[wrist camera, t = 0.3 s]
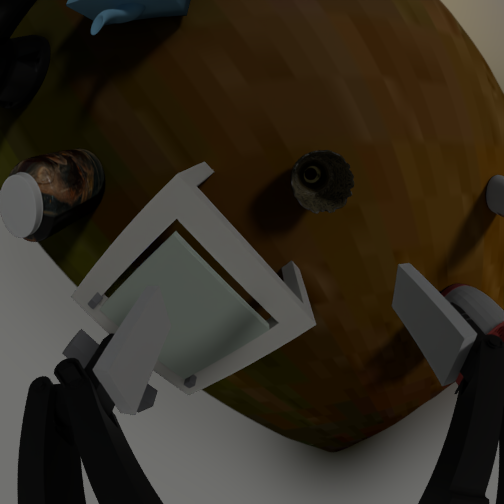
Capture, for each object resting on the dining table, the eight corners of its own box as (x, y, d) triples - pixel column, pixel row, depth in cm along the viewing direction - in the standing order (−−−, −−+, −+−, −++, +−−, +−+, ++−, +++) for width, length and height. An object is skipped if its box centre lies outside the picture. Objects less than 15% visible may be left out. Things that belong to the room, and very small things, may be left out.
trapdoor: (144, 395, 36) (138, 412, 33) (73, 337, 32) (62, 353, 28) (269, 324, 29) (270, 345, 26) (175, 230, 25) (164, 244, 22)
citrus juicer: (407, 302, 45) (459, 375, 27) (471, 260, 42) (533, 312, 23) (416, 350, 51) (453, 415, 32) (473, 312, 47) (518, 365, 29)
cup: (335, 148, 35) (355, 151, 28) (335, 198, 38) (353, 213, 31) (283, 148, 36) (290, 150, 28) (285, 199, 38) (292, 214, 31)
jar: (94, 228, 40) (40, 267, 26) (48, 201, 38) (-9, 228, 24) (114, 162, 36) (53, 179, 22) (64, 138, 34) (0, 148, 20)
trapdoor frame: (114, 253, 42) (64, 303, 28) (204, 161, 36) (172, 176, 22) (202, 336, 48) (186, 403, 34) (299, 269, 43) (318, 333, 28)
